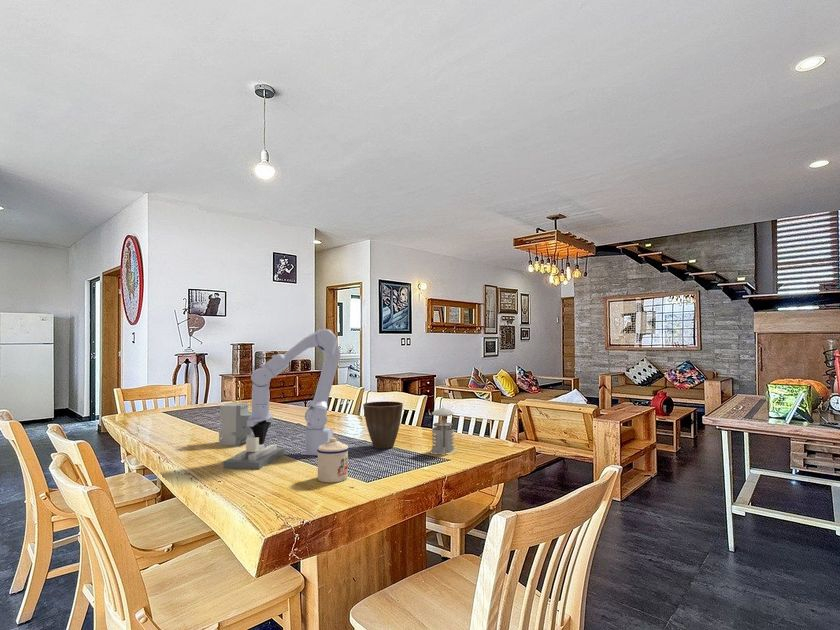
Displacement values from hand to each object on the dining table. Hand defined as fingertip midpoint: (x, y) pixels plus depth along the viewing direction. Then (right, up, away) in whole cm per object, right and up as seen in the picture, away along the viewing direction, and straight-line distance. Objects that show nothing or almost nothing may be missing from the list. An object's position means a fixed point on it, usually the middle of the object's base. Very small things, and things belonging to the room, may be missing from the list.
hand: (260, 444), depth 158 cm
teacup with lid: (+29, -4, -22) cm, 37 cm away
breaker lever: (-1, -3, -5) cm, 6 cm away
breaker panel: (0, -5, -2) cm, 5 cm away
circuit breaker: (-16, -6, +24) cm, 30 cm away
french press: (+63, -5, +8) cm, 63 cm away
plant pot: (+40, -6, +17) cm, 44 cm away
